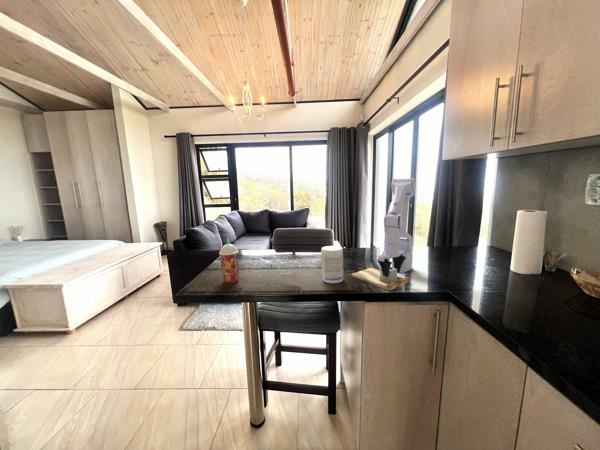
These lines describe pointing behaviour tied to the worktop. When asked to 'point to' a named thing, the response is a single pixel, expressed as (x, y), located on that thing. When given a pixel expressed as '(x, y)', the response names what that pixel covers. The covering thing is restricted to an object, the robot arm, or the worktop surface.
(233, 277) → the smoothie
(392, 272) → the cabinet block
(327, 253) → the supplement tub
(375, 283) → the wall board
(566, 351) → the worktop surface
